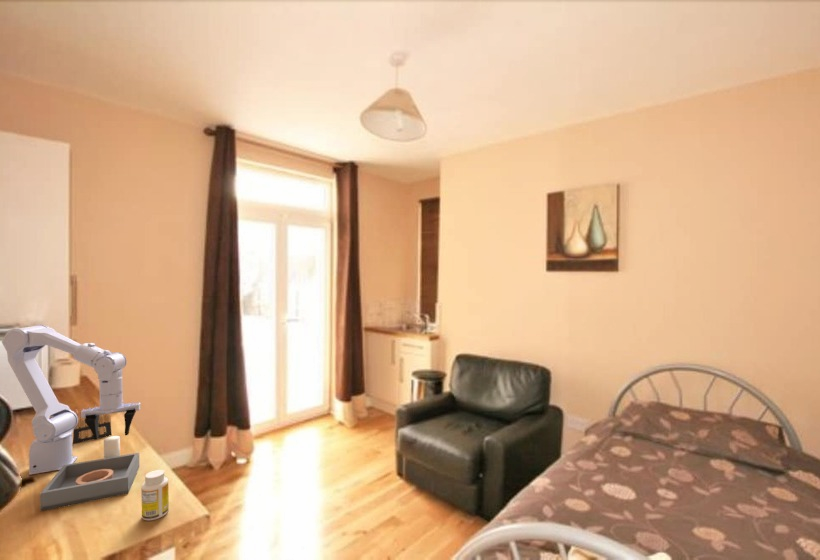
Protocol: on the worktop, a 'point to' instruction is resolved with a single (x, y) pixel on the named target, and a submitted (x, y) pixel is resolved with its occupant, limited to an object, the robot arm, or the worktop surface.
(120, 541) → the worktop surface
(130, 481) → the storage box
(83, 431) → the ammunition clip
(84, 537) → the worktop surface
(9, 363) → the robot arm
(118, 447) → the peg
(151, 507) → the supplement bottle
